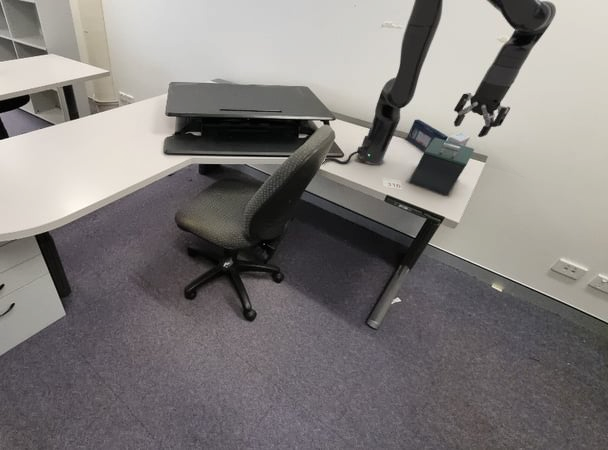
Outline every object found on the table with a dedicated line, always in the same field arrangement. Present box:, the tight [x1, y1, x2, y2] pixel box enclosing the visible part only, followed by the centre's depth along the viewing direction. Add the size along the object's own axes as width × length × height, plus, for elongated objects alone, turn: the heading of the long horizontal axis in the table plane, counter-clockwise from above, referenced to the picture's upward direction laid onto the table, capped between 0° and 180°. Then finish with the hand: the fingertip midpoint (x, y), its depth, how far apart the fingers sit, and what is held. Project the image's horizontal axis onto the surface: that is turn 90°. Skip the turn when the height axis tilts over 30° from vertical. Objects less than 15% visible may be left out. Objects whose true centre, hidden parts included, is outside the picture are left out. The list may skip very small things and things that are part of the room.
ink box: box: [446, 131, 471, 146], centre depth 139 cm, size 8×5×12 cm, turn 123°
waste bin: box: [408, 152, 466, 197], centre depth 126 cm, size 16×14×13 cm
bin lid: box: [423, 138, 475, 167], centre depth 120 cm, size 16×14×5 cm
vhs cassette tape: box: [406, 119, 449, 153], centre depth 148 cm, size 18×3×10 cm, turn 11°
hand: (468, 131), depth 110 cm, fingers open, 8 cm apart
